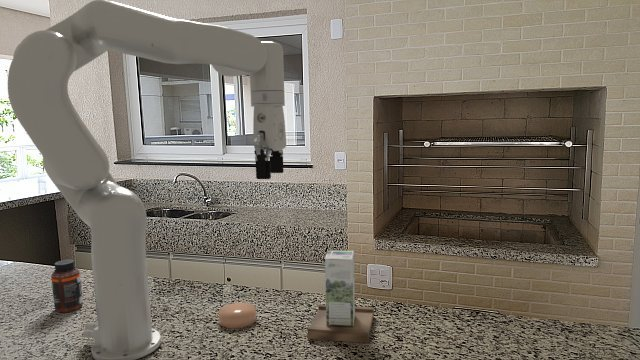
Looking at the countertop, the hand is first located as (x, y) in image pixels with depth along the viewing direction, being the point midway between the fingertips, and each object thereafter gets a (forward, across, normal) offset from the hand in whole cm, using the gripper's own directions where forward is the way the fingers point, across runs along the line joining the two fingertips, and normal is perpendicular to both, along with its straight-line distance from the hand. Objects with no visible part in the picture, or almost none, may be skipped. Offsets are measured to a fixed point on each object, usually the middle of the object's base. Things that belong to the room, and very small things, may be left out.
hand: (270, 175), depth 110 cm
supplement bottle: (+31, -11, +47) cm, 57 cm away
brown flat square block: (+30, -11, -18) cm, 37 cm away
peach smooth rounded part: (+31, -11, +5) cm, 33 cm away
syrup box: (+29, -11, -18) cm, 36 cm away
